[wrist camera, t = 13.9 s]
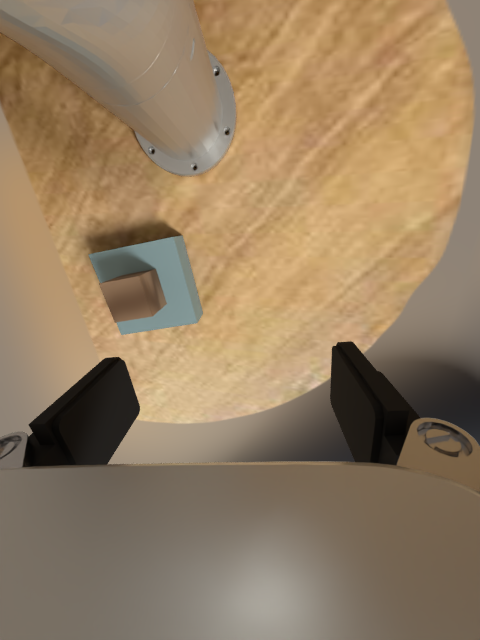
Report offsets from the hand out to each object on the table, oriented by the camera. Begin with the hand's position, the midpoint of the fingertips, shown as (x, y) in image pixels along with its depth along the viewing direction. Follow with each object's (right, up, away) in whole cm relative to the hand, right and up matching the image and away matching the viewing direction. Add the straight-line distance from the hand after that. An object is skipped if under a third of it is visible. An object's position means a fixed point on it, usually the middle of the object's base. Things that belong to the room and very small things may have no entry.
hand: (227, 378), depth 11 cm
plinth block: (-12, +8, +26) cm, 30 cm away
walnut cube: (-13, +7, +22) cm, 26 cm away
